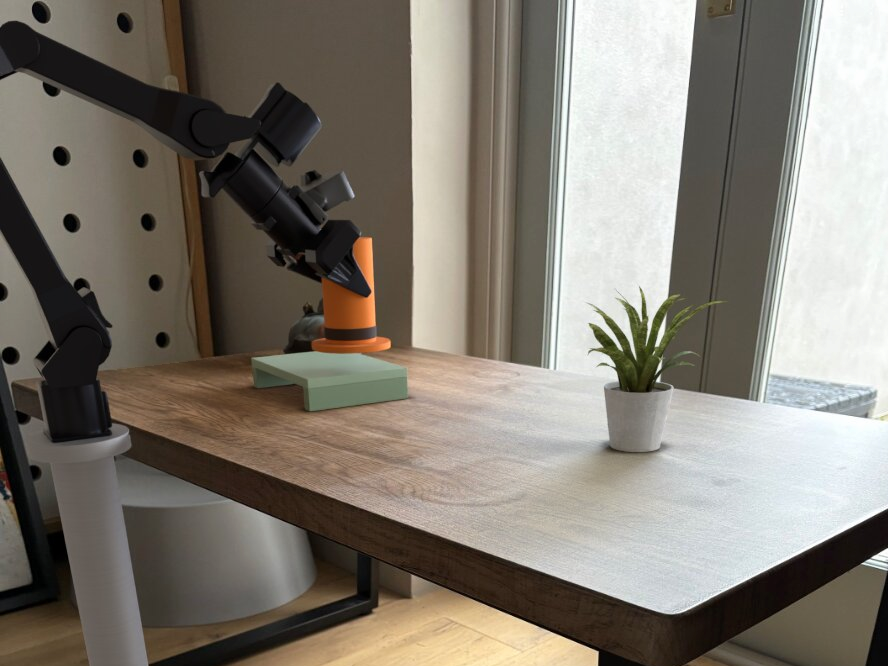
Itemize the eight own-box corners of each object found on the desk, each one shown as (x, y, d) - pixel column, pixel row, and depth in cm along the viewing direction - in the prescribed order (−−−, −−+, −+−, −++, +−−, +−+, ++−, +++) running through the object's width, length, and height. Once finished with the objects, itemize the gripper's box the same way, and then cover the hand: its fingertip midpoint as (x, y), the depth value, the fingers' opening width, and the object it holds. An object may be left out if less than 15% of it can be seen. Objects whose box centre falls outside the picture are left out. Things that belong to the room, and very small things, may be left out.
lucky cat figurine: (278, 356, 154) (303, 276, 154) (346, 382, 158) (371, 304, 158) (289, 342, 140) (316, 253, 140) (363, 370, 143) (390, 284, 143)
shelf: (309, 411, 116) (307, 379, 114) (253, 386, 131) (250, 357, 130) (408, 398, 122) (407, 367, 121) (343, 376, 138) (341, 348, 136)
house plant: (704, 429, 104) (718, 275, 97) (727, 462, 91) (745, 288, 85) (575, 429, 105) (581, 276, 98) (581, 461, 92) (588, 289, 86)
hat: (361, 355, 112) (355, 240, 107) (295, 350, 117) (287, 239, 111) (405, 344, 120) (402, 236, 115) (342, 340, 125) (336, 236, 119)
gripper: (339, 139, 100) (432, 245, 109) (281, 147, 115) (368, 240, 124) (275, 220, 99) (373, 319, 109) (226, 217, 114) (316, 305, 124)
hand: (358, 292), depth 116 cm, fingers closed on hat, 6 cm apart
